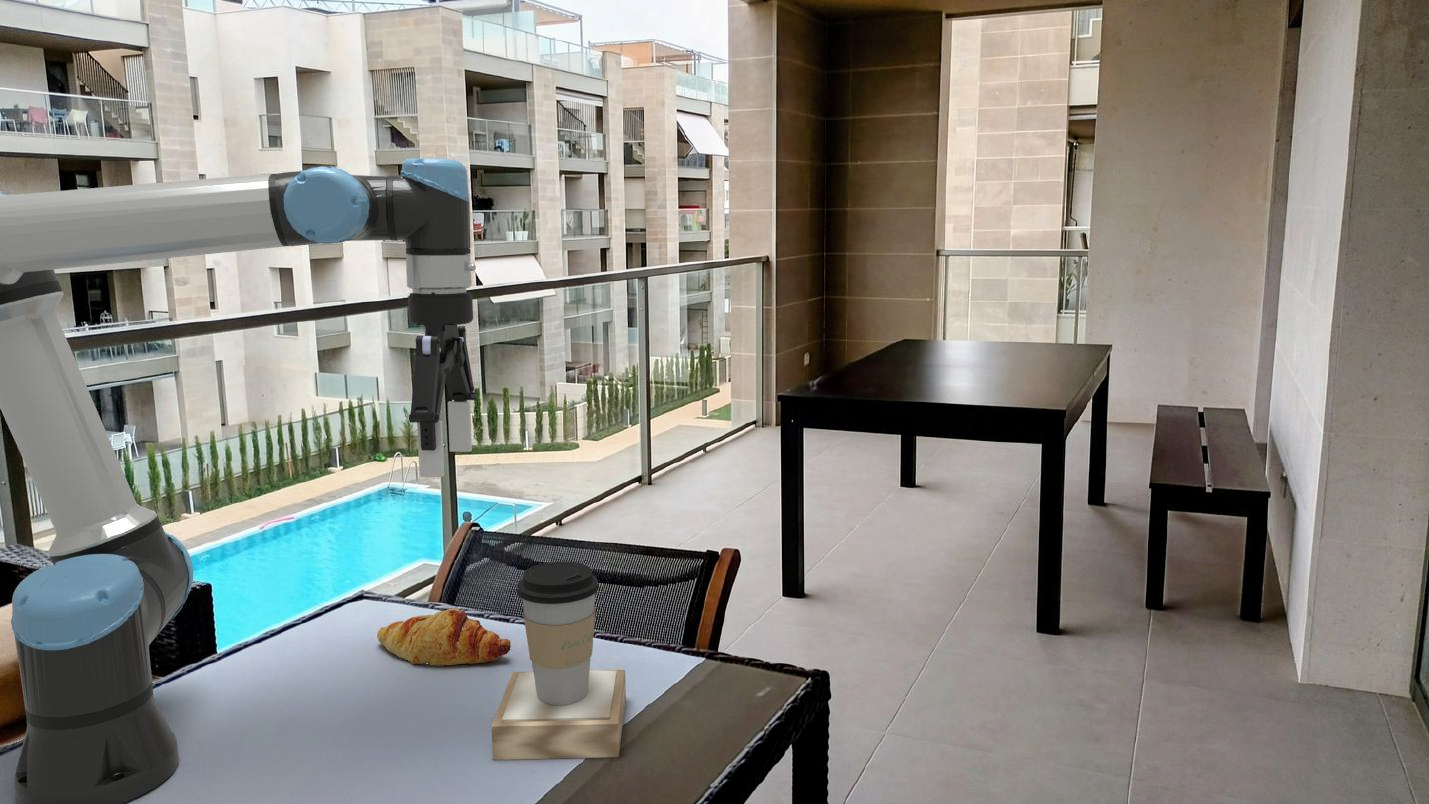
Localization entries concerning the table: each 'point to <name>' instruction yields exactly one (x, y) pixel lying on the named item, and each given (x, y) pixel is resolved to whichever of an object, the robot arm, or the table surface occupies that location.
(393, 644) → the croissant
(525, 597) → the coffee cup
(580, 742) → the plinth
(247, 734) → the table surface
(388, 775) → the table surface
